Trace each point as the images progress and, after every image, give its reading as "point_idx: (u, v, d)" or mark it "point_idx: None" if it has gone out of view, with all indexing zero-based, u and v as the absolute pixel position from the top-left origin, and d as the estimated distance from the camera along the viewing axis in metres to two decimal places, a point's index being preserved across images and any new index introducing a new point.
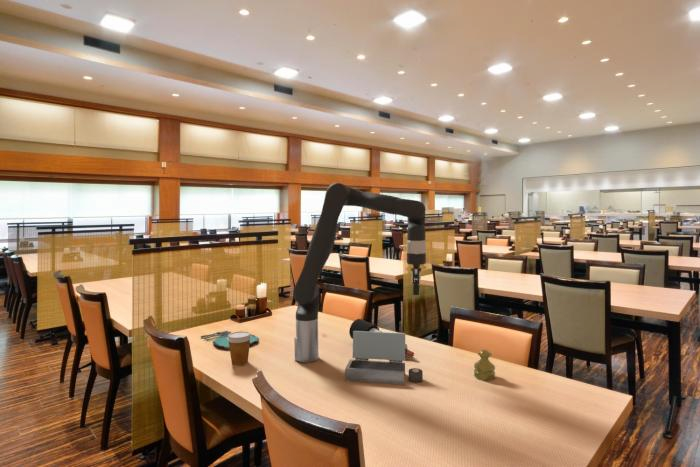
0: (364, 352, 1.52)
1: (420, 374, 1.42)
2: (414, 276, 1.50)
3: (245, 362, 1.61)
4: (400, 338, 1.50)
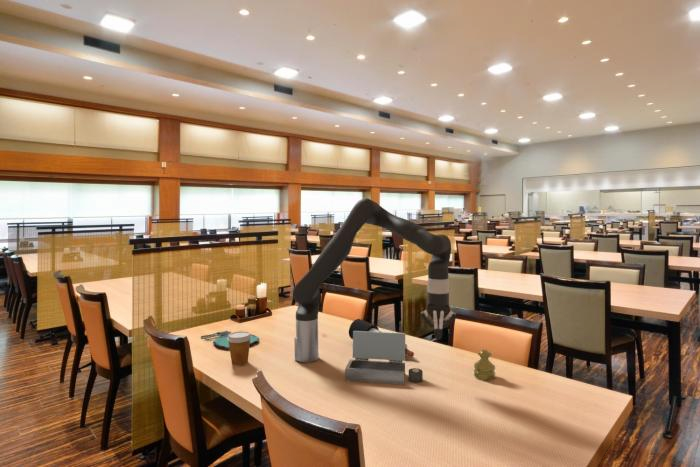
0: (364, 352, 1.52)
1: (420, 374, 1.42)
2: None
3: (245, 362, 1.61)
4: (400, 338, 1.50)
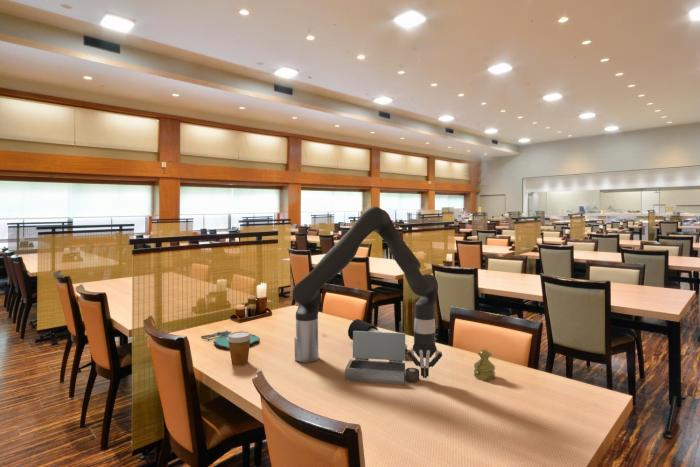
0: (364, 352, 1.52)
1: (417, 373, 1.43)
2: None
3: (245, 362, 1.61)
4: (400, 338, 1.50)
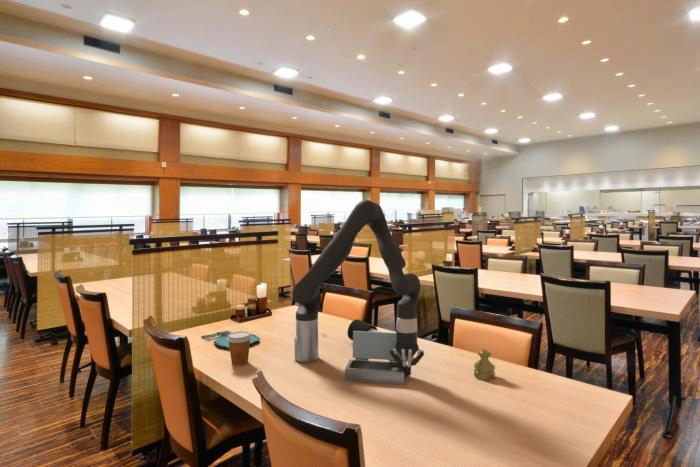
0: (364, 352, 1.52)
1: None
2: None
3: (245, 362, 1.61)
4: None
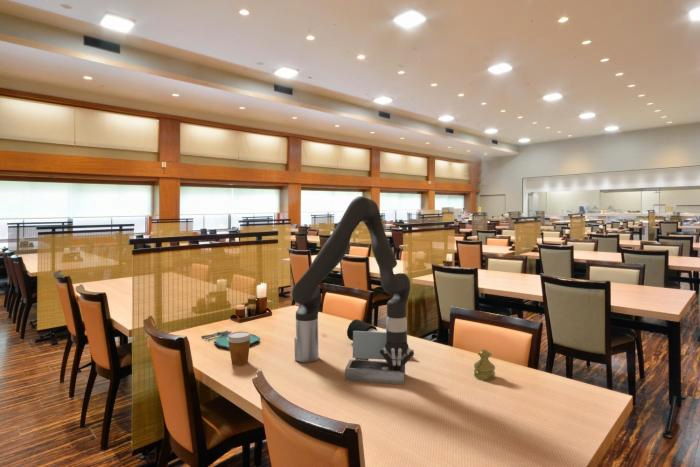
0: (364, 352, 1.52)
1: None
2: None
3: (245, 362, 1.61)
4: None
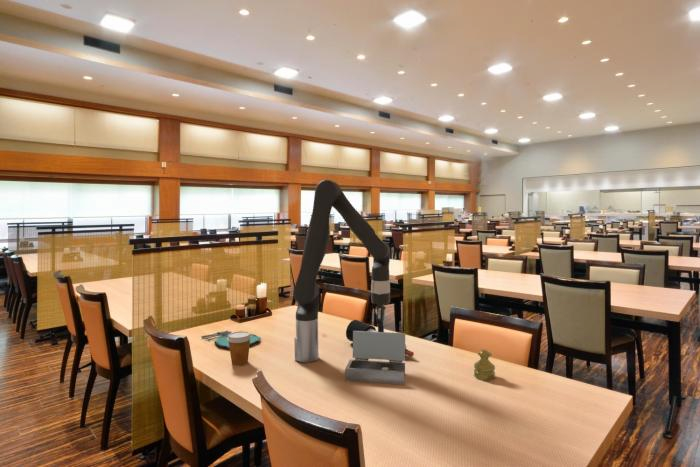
0: (364, 352, 1.52)
1: None
2: (378, 320, 1.54)
3: (245, 362, 1.61)
4: (400, 338, 1.50)
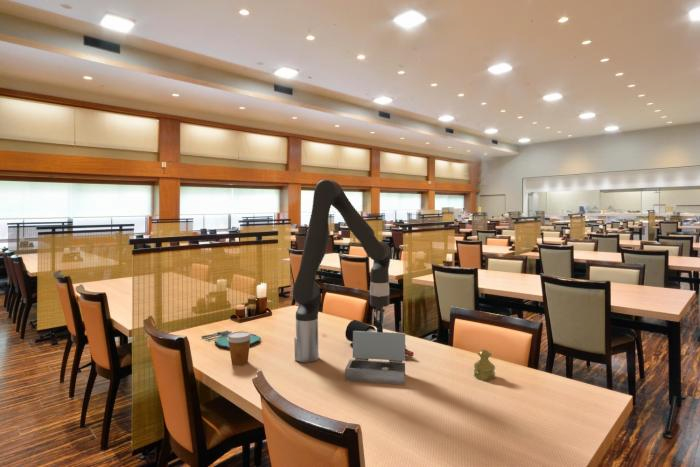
0: (364, 352, 1.52)
1: None
2: (377, 323, 1.50)
3: (245, 362, 1.61)
4: (400, 338, 1.50)
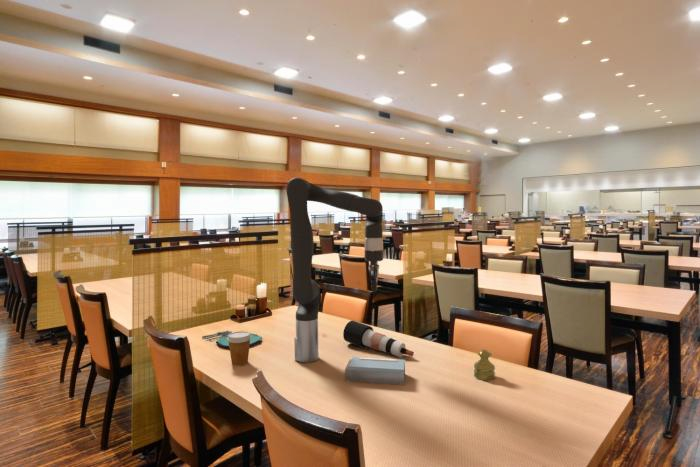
0: None
1: None
2: (371, 277, 1.57)
3: (245, 362, 1.61)
4: None
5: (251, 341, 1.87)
